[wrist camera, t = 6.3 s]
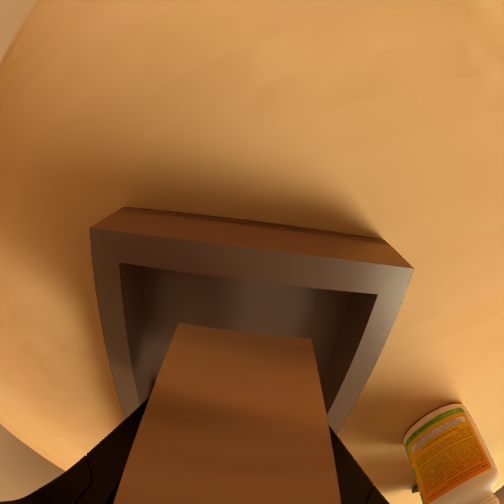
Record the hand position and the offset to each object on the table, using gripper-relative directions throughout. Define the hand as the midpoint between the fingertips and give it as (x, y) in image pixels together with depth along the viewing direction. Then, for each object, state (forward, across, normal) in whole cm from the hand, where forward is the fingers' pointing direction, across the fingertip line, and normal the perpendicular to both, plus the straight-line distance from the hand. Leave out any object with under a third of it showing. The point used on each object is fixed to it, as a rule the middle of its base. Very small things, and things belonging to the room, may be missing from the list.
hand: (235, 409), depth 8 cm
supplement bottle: (+5, -15, +8) cm, 18 cm away
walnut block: (+1, 0, 0) cm, 1 cm away
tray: (+4, 0, +4) cm, 6 cm away
